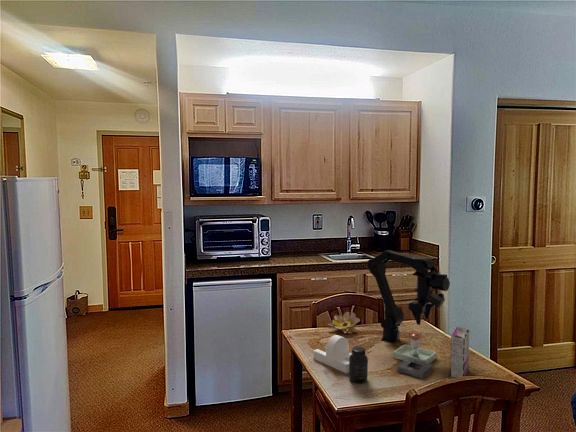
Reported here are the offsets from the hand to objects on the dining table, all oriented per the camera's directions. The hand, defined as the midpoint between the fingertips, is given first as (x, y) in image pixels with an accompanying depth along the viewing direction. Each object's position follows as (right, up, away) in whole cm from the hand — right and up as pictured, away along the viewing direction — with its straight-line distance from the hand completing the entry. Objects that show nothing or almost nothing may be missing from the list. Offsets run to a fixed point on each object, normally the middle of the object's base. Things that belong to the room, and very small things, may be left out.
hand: (422, 321), depth 182 cm
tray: (-6, -13, -8) cm, 16 cm away
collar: (-9, -14, -20) cm, 26 cm away
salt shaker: (-6, -13, -8) cm, 16 cm away
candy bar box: (+7, -15, -22) cm, 27 cm away
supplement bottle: (-33, -15, -27) cm, 45 cm away
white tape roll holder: (-39, -14, -12) cm, 43 cm away
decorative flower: (-32, -11, +25) cm, 42 cm away
